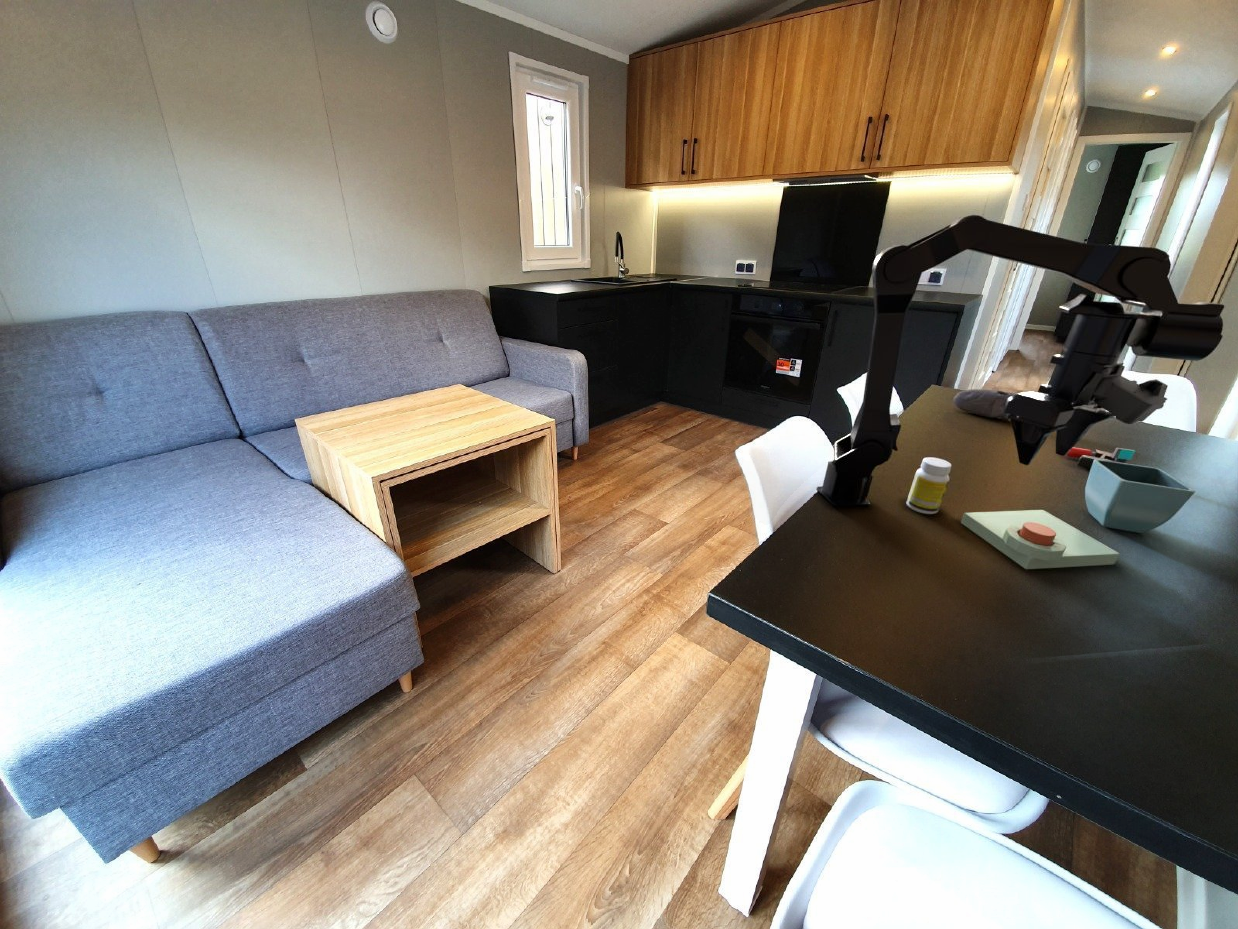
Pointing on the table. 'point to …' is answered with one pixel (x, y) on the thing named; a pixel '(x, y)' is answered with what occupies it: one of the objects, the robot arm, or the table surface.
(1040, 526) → the button
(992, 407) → the perforated stone tool
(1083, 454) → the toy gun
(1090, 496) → the flower pot
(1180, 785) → the table surface
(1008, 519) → the kitchen scale
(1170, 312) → the robot arm
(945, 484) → the supplement bottle
